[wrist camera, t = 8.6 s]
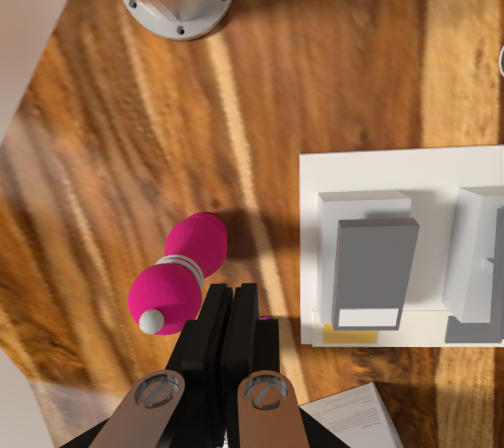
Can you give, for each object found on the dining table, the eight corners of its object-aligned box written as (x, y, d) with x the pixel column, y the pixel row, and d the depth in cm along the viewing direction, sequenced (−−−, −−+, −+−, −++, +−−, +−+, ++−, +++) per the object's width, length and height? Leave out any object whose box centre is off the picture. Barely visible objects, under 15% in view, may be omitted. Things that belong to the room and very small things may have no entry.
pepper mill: (202, 197, 40) (139, 264, 21) (242, 235, 42) (217, 331, 23) (166, 234, 42) (79, 326, 23) (206, 270, 44) (154, 385, 24)
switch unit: (299, 153, 38) (305, 161, 31) (559, 141, 36) (630, 146, 29) (300, 338, 46) (305, 378, 39) (512, 338, 44) (559, 380, 37)
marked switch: (338, 219, 31) (341, 228, 29) (412, 217, 30) (420, 226, 29) (331, 320, 37) (333, 331, 35) (393, 319, 36) (398, 331, 35)
